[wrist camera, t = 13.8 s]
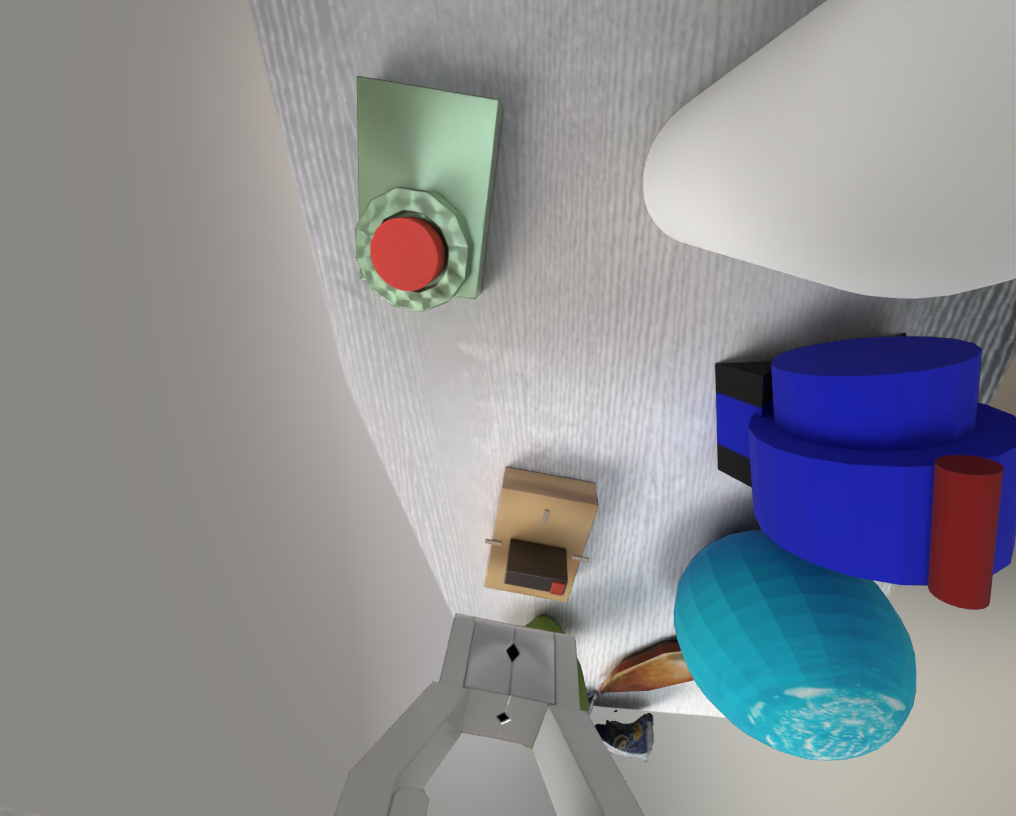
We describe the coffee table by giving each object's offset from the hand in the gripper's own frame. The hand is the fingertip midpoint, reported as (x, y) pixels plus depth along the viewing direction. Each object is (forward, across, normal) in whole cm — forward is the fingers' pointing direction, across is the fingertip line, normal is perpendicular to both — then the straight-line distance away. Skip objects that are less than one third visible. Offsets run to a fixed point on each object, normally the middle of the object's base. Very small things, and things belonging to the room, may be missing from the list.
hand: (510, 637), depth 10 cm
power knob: (+20, -3, +17) cm, 27 cm away
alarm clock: (+23, -20, 0) cm, 31 cm away
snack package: (+20, -10, +43) cm, 48 cm away
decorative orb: (+23, -22, +16) cm, 36 cm away
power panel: (+23, -3, +17) cm, 29 cm away
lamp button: (+20, +9, -6) cm, 22 cm away
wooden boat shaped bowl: (+20, -20, +33) cm, 44 cm away
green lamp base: (+23, +9, -9) cm, 26 cm away
